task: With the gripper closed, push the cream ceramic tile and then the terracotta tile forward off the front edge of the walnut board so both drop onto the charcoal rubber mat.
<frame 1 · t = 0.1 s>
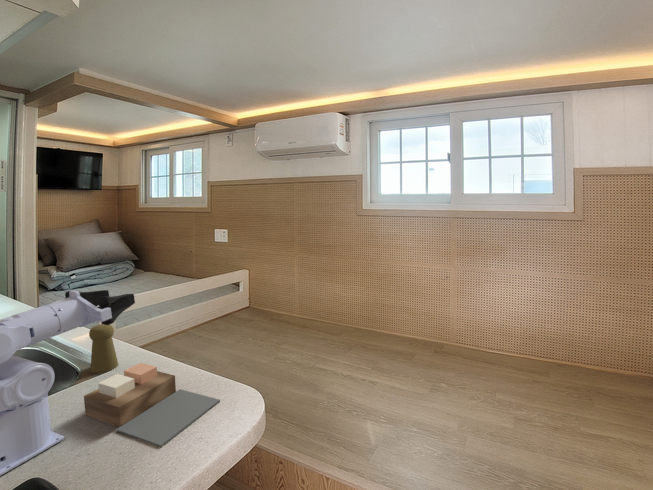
hand: (120, 296, 74), 22 cm above the worktop, tool horizontal, fingers open, 7 cm apart
cream tile: (117, 390, 70), point 4 cm above the worktop, touching walnut board
rubber mat: (171, 415, 68), on the worktop
olive tall rounded piece: (104, 368, 88), on the worktop
terracotta tile: (141, 377, 75), point 4 cm above the worktop, touching walnut board
walnut board: (133, 403, 73), on the worktop
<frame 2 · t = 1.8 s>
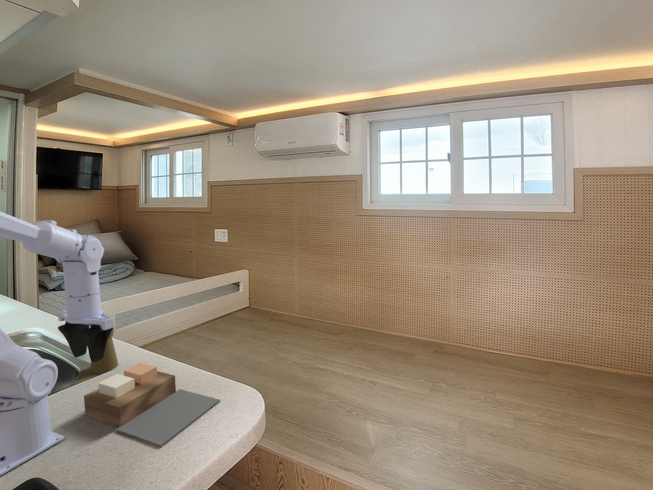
hand: (88, 357, 73), 9 cm above the worktop, tool pointing down, fingers open, 5 cm apart
nothing on the worktop moved.
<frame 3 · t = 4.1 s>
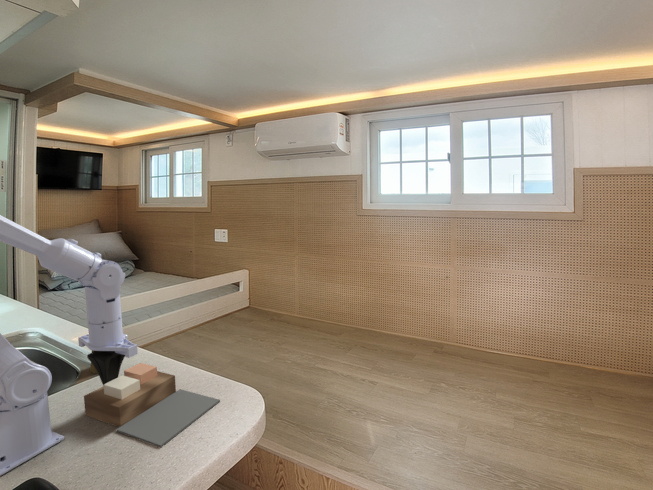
hand: (110, 384, 71), 5 cm above the worktop, tool pointing down, fingers closed
cream tile: (122, 391, 70), point 4 cm above the worktop, touching gripper
everything else where it was.
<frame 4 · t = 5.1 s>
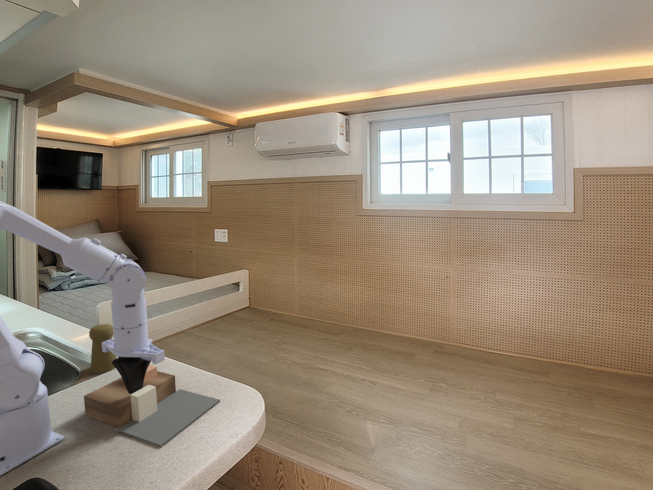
hand: (135, 391, 68), 5 cm above the worktop, tool pointing down, fingers closed
cream tile: (140, 401, 68), point 3 cm above the worktop, tilted 90°, touching rubber mat
everything else where it was.
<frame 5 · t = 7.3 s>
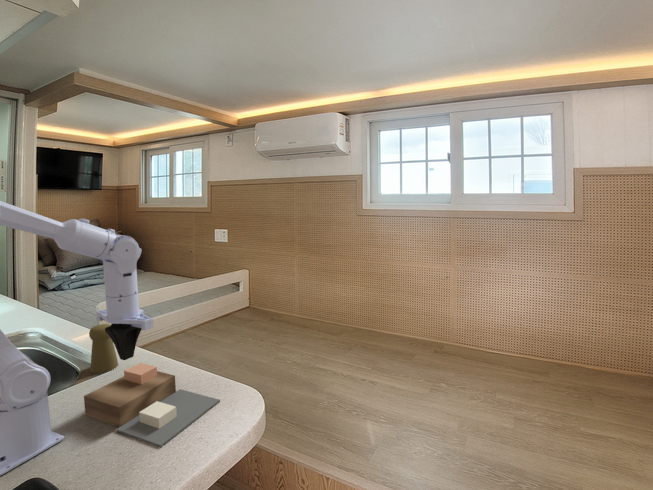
hand: (126, 357, 72), 9 cm above the worktop, tool pointing down, fingers closed
cream tile: (157, 409, 66), point 2 cm above the worktop, tilted 180°, touching rubber mat
everything else where it was.
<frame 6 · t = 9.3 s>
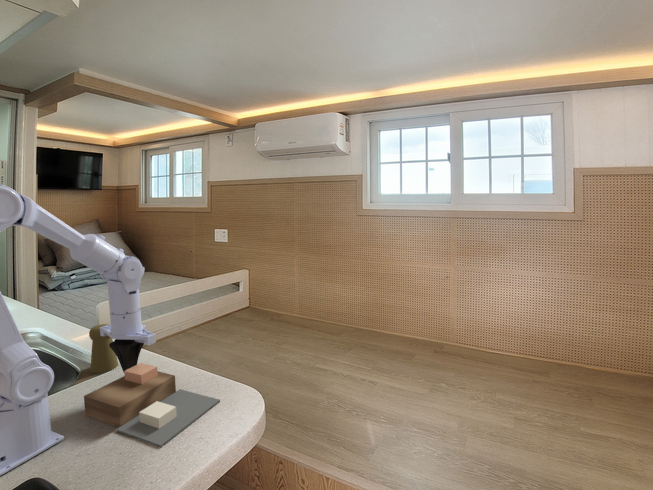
hand: (129, 371, 76), 5 cm above the worktop, tool pointing down, fingers closed
terracotta tile: (141, 377, 75), point 4 cm above the worktop, touching gripper
everything else where it was.
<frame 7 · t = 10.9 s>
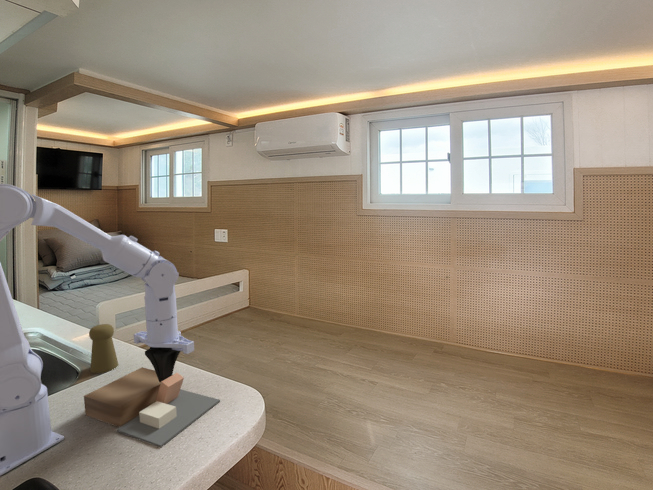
hand: (165, 380, 72), 5 cm above the worktop, tool pointing down, fingers closed
terracotta tile: (166, 386, 72), point 3 cm above the worktop, tilted 113°, touching rubber mat
everything else where it was.
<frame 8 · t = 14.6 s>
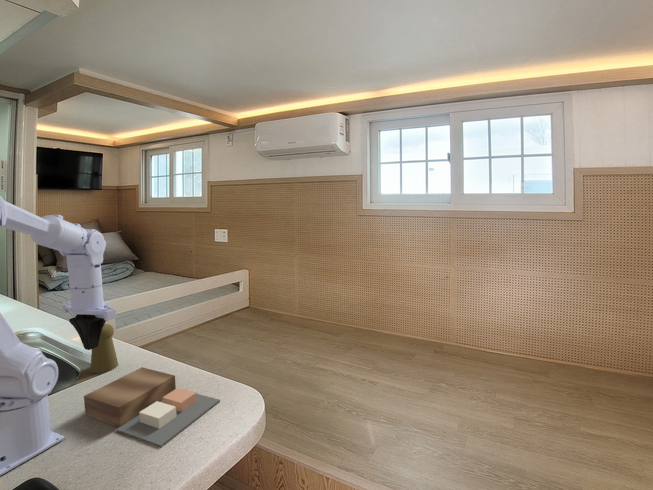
hand: (91, 347, 75), 10 cm above the worktop, tool pointing down, fingers closed
terracotta tile: (179, 395, 71), point 2 cm above the worktop, tilted 180°, touching rubber mat
everything else where it was.
at the end: cream tile inside the target area (2.5 cm from its centre), point 2.4 cm above the worktop; terracotta tile inside the target area (3.1 cm from its centre), point 2.4 cm above the worktop; olive tall rounded piece moved 0.2 cm from its start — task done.
